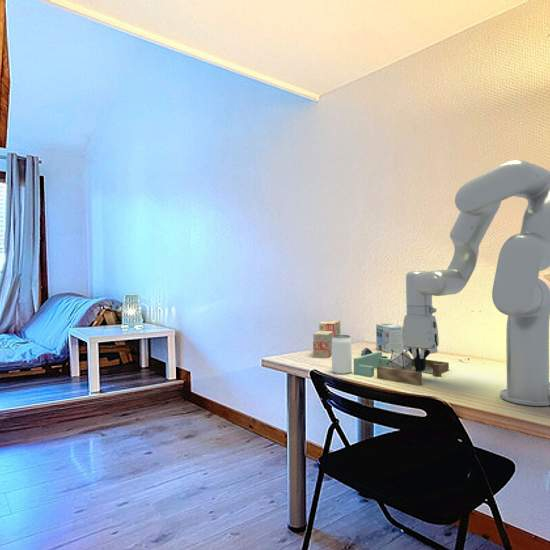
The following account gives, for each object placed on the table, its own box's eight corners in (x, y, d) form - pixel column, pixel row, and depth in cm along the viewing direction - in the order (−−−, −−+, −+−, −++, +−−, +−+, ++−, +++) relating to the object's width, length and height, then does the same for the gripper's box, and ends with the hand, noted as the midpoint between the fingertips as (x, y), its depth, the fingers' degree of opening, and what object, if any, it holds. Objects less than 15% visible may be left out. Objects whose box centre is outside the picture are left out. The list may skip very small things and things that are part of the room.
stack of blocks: (328, 358, 171) (328, 326, 170) (313, 357, 173) (312, 326, 173) (340, 348, 191) (340, 320, 190) (326, 348, 193) (326, 319, 193)
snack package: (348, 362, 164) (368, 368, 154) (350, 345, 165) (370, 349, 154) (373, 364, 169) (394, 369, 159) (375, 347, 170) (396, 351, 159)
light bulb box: (375, 349, 187) (375, 323, 187) (389, 348, 189) (389, 322, 189) (389, 353, 177) (389, 326, 177) (404, 352, 179) (404, 325, 179)
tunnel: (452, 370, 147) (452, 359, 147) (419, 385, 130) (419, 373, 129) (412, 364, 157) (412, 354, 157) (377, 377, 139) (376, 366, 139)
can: (336, 375, 144) (336, 337, 144) (329, 370, 150) (328, 335, 150) (355, 373, 146) (354, 336, 145) (346, 369, 152) (346, 334, 152)
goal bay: (395, 368, 152) (395, 353, 152) (371, 376, 140) (371, 361, 140) (378, 365, 156) (378, 351, 156) (353, 373, 145) (353, 358, 145)
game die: (403, 385, 144) (417, 358, 147) (409, 382, 136) (423, 354, 139) (378, 370, 146) (392, 344, 149) (383, 366, 138) (397, 339, 141)
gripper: (448, 311, 135) (449, 371, 135) (402, 309, 145) (403, 365, 145) (437, 313, 129) (438, 376, 130) (391, 311, 140) (392, 369, 140)
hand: (420, 370), depth 137 cm, fingers closed
